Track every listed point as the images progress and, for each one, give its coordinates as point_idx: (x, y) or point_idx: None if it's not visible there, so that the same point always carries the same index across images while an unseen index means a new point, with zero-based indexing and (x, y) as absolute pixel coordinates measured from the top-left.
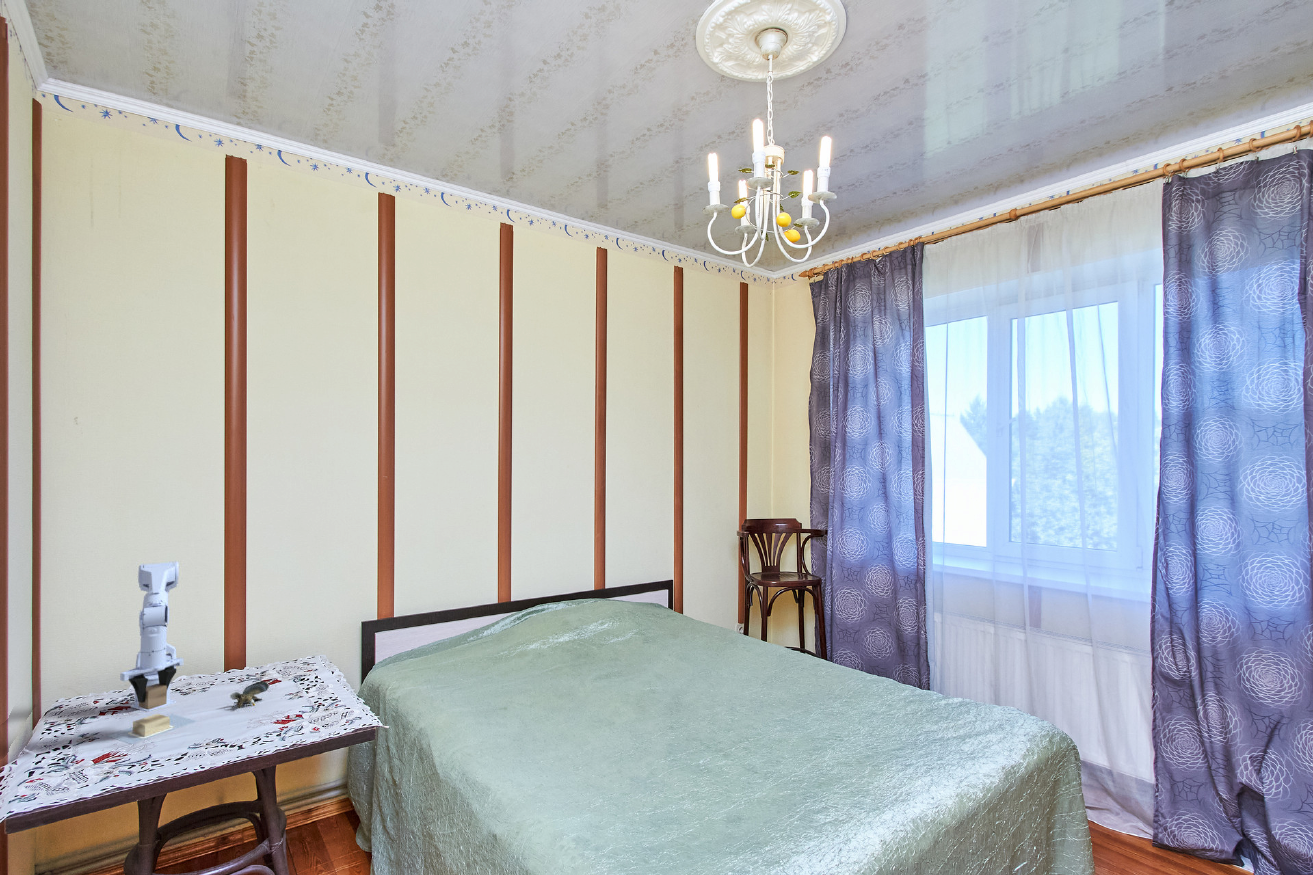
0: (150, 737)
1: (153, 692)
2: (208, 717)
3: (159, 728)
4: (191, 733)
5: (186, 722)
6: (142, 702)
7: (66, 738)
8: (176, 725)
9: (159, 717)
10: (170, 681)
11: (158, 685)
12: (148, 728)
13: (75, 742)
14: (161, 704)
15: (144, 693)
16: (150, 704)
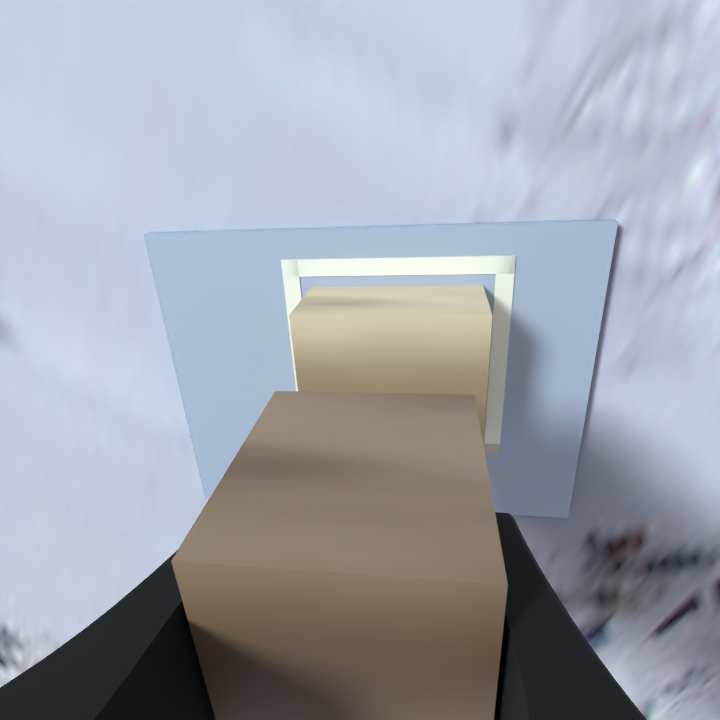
0: (475, 225)
1: (412, 534)
2: (68, 252)
3: (378, 292)
4: (253, 6)
5: (199, 280)
6: (508, 513)
7: (649, 664)
8: (263, 288)
9: (337, 387)
10: (70, 639)
11: (254, 679)
12: (461, 302)
13: (678, 588)
14: (325, 396)
15: (524, 604)
16: (448, 423)
